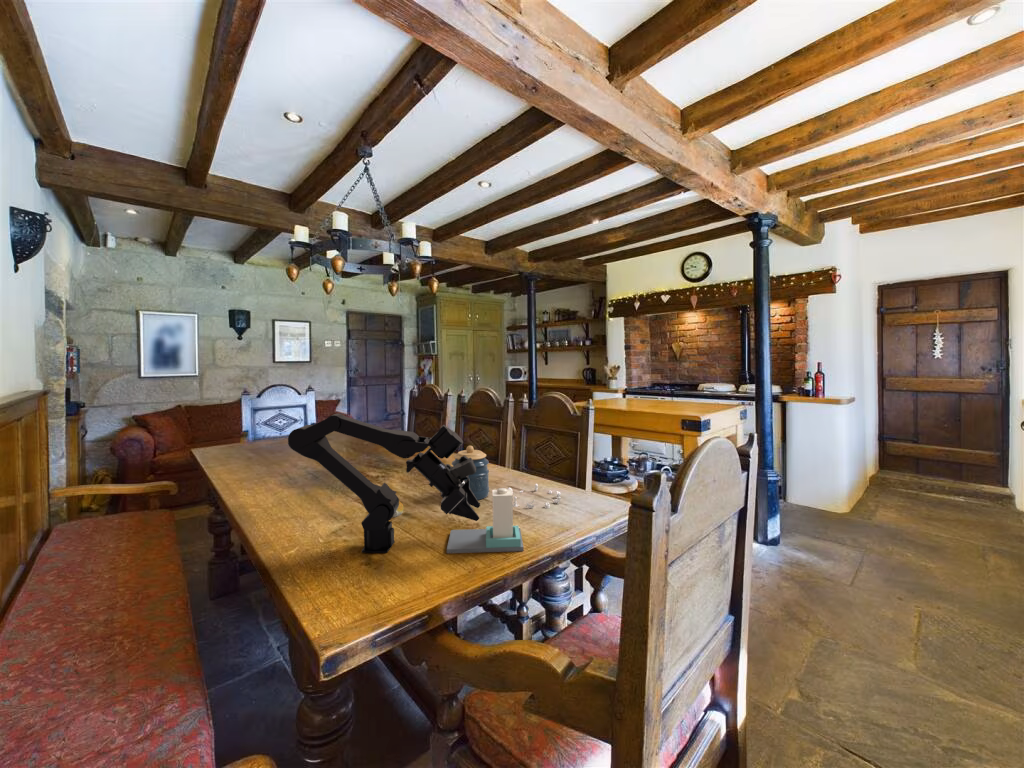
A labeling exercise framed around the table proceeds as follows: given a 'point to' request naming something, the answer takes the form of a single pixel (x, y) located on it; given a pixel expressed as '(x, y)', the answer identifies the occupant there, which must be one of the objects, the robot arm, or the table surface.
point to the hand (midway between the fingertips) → (478, 512)
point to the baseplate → (483, 541)
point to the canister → (480, 478)
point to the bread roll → (399, 510)
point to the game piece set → (534, 500)
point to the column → (502, 513)
